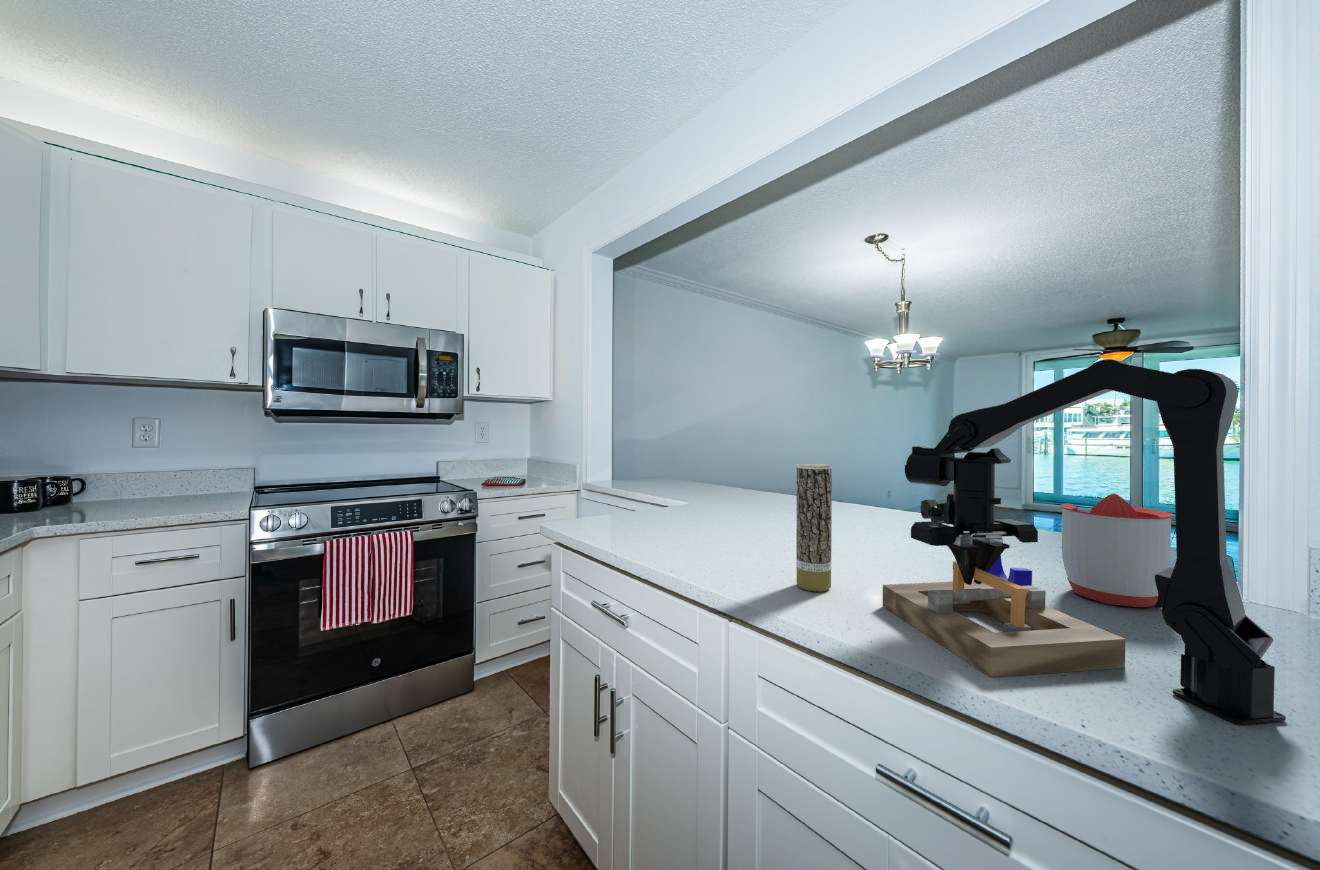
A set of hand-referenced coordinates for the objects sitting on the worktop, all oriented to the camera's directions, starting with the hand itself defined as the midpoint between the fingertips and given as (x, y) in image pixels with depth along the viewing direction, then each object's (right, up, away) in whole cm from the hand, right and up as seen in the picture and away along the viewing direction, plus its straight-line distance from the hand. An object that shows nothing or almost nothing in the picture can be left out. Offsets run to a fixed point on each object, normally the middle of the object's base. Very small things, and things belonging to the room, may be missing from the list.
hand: (972, 583), depth 80 cm
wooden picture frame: (0, -7, -3) cm, 8 cm away
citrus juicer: (+35, -7, +13) cm, 38 cm away
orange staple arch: (0, -4, -3) cm, 5 cm away
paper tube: (-20, -7, +19) cm, 29 cm away
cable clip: (+16, -7, +17) cm, 25 cm away
